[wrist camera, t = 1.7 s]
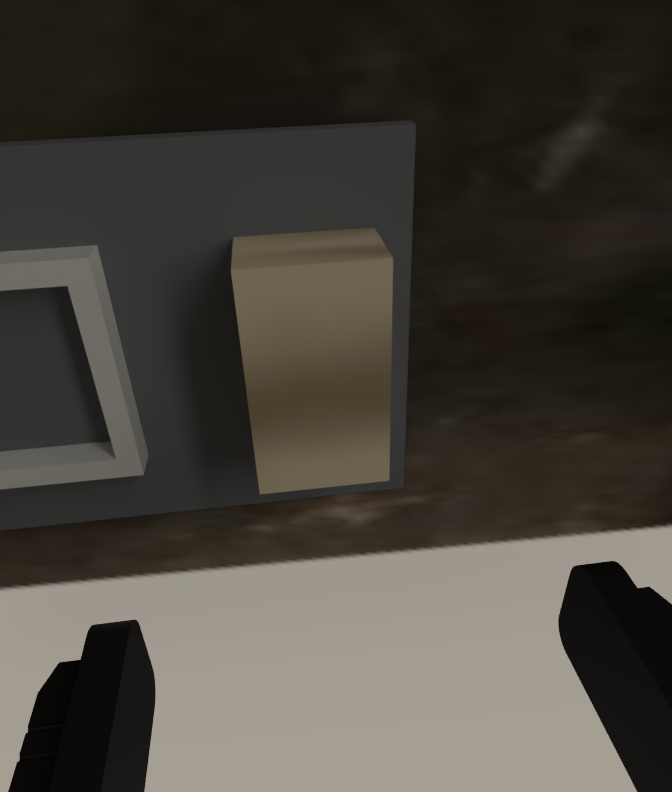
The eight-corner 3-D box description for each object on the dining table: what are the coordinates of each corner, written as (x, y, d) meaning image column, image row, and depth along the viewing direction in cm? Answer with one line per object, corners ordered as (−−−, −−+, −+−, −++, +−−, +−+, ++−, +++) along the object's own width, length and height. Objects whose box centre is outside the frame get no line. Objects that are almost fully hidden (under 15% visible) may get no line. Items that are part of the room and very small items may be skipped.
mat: (410, 120, 19) (415, 124, 18) (399, 475, 26) (403, 487, 25) (-372, 162, 17) (-398, 167, 16) (-144, 532, 24) (-156, 547, 23)
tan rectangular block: (233, 237, 19) (230, 270, 17) (374, 227, 19) (393, 258, 17) (258, 443, 23) (259, 494, 21) (374, 431, 24) (389, 480, 21)
